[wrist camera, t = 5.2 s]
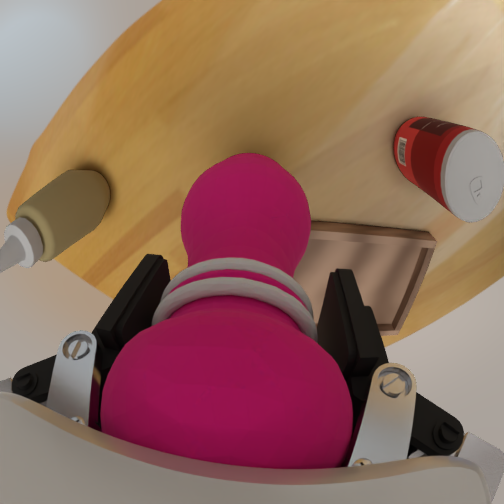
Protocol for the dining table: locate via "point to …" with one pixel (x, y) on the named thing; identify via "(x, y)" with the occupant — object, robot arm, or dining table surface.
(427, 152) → the canned food
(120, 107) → the dining table surface
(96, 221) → the squeeze bottle
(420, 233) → the walnut tray
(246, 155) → the pepper mill
